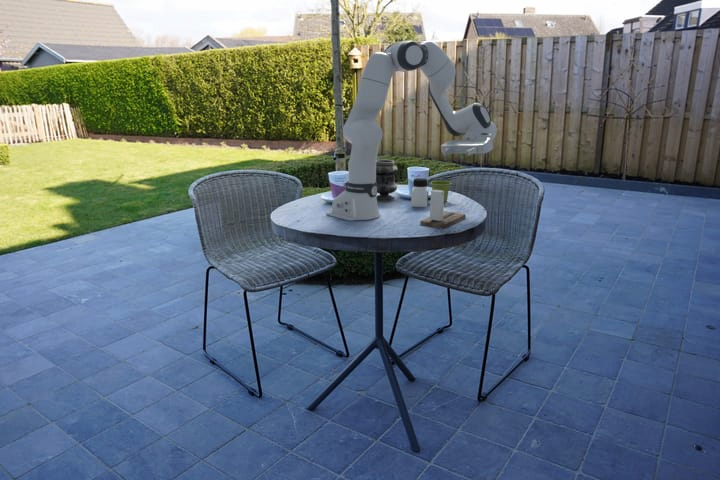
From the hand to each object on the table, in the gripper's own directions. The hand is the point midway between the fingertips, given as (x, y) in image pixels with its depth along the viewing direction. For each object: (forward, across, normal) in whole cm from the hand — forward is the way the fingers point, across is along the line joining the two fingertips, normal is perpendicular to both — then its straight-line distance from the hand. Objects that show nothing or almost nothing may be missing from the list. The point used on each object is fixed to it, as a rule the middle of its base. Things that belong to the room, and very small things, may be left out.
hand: (456, 153), depth 194 cm
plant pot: (-15, -21, +28) cm, 38 cm away
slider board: (+14, -2, +23) cm, 27 cm away
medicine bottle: (-3, -24, +25) cm, 35 cm away
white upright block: (+20, -1, +19) cm, 27 cm away
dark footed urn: (-4, -44, +23) cm, 50 cm away
